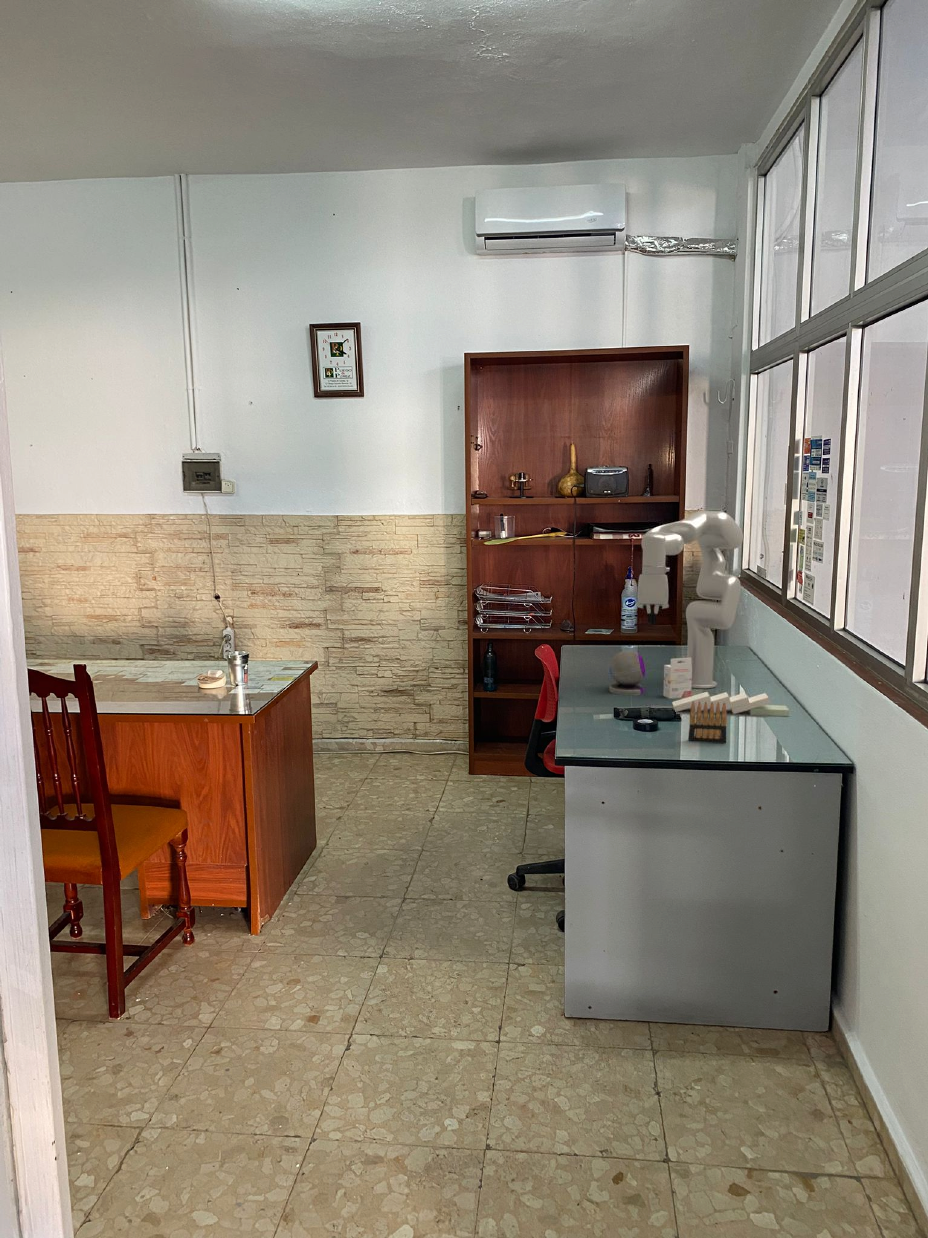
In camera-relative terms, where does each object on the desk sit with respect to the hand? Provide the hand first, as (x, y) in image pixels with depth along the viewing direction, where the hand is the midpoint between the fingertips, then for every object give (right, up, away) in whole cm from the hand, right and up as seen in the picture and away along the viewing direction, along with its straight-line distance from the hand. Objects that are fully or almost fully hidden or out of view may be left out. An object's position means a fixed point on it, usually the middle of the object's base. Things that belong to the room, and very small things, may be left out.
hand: (651, 624), depth 309 cm
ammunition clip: (+7, -34, -43) cm, 55 cm away
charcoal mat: (+16, -29, -10) cm, 35 cm away
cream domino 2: (+11, -27, -10) cm, 31 cm away
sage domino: (+29, -28, -12) cm, 42 cm away
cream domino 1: (+5, -27, -9) cm, 29 cm away
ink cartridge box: (+11, -26, +11) cm, 30 cm away
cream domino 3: (+17, -27, -11) cm, 34 cm away
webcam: (-5, -25, +21) cm, 32 cm away
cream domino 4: (+24, -28, -12) cm, 38 cm away
